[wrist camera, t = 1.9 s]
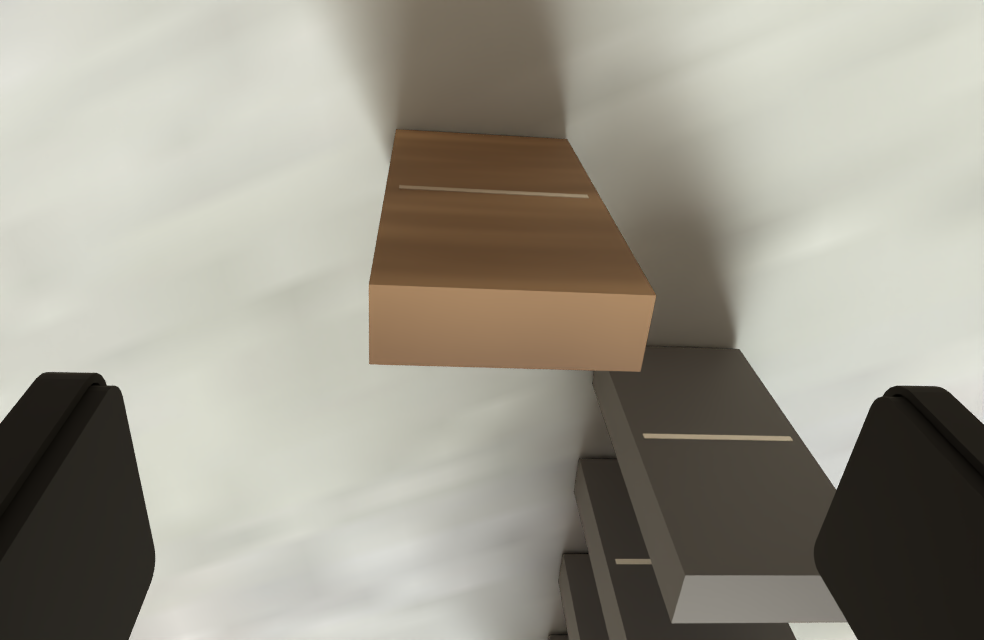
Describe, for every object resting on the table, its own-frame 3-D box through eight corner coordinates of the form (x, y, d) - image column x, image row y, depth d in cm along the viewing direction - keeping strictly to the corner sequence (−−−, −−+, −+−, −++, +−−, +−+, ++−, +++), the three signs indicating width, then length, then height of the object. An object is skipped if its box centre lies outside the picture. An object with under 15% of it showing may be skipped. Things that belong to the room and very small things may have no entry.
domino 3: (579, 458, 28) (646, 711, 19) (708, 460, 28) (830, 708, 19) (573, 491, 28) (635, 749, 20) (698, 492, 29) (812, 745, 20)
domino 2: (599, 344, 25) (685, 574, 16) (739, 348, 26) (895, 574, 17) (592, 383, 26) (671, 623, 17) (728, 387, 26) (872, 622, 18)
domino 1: (396, 128, 21) (369, 283, 12) (567, 138, 22) (656, 294, 13) (395, 183, 22) (369, 365, 13) (560, 191, 22) (640, 372, 14)
